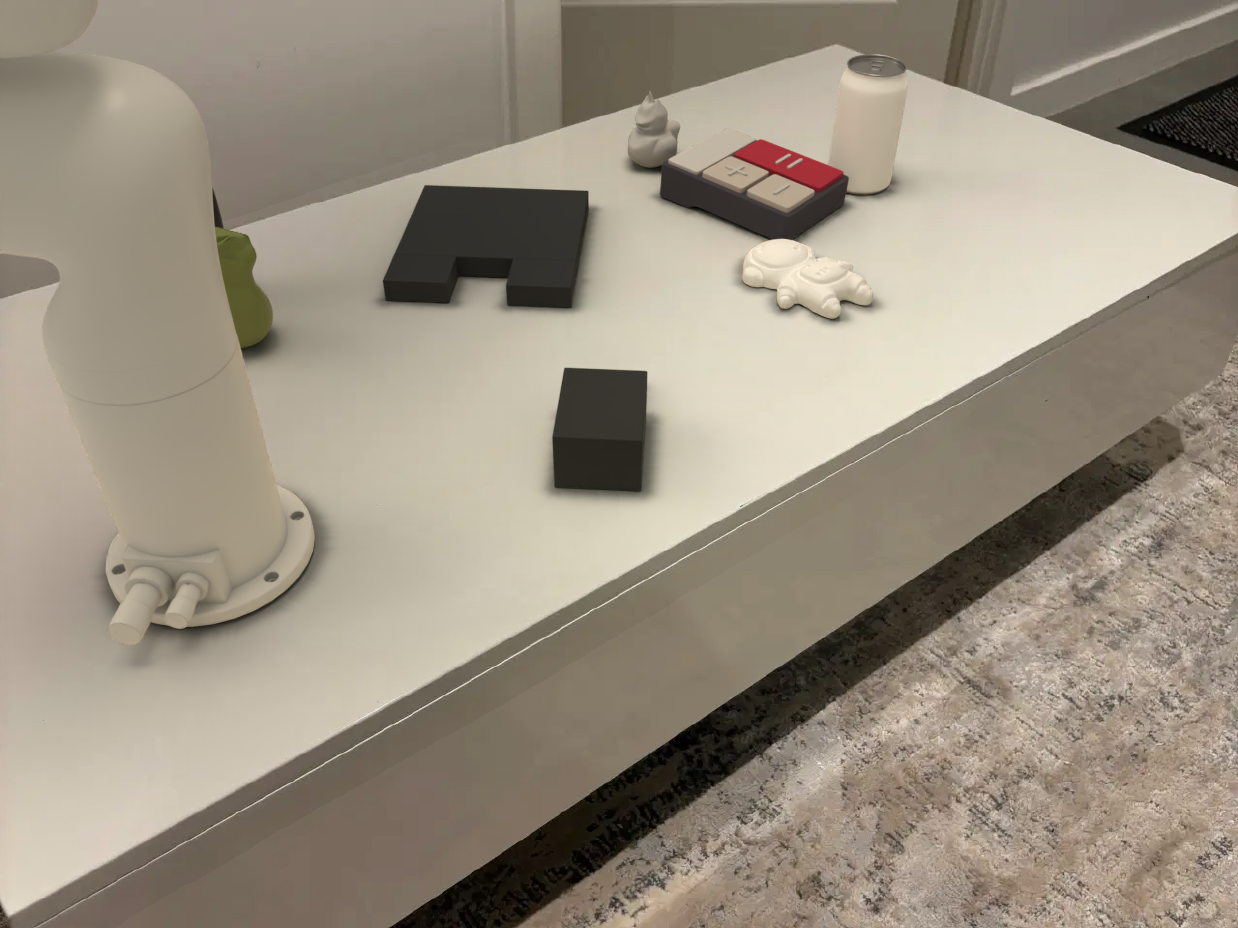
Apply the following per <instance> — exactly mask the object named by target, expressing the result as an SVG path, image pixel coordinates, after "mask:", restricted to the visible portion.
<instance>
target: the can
mask: <svg viewBox="0 0 1238 928" xmlns="http://www.w3.org/2000/svg"><path fill="white" fill-rule="evenodd" d="M846 65H847V66H846V68H845V70H844V71H843V73H842V75H841V76H840V81H839V86H838V94H837V98H836V99H837V100H836V107H835V112H834V121H833V128H832V135H831V143H830V150H829V155H828V157H829V158H828V164H827V165H829V166H832V167H834V168H837V169H839V170H842V171H843V172H844V173H843V174H844V175H846V176H848V177H849V181H848V186H847V191H846V194H850V195H858V196H859V195H862V196H865V195H866V196H867V195H876V194H878V193H881V192H884V190H885V189H886V188H888V187H889V186H890V185H891V183H892V177H893V172H894V167H895V162H896V156H897V150H898V146H899V140H900V134H901V130H902V129H901V128H902V122H903V117H904V113H905V106H906V101H907V95H908V89H909V88H908V87H909V81H908V76H907V74H906V71H907V69H908V66H907V64H906V63H905V62H904V61H903V60H901V59H899V58H896V57H893V56H890V55H885V54H876V53H868V54H867V53H866V54H859V55H855V56H852V57H850V58H849V59H848V60H847V62H846Z"/></svg>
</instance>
